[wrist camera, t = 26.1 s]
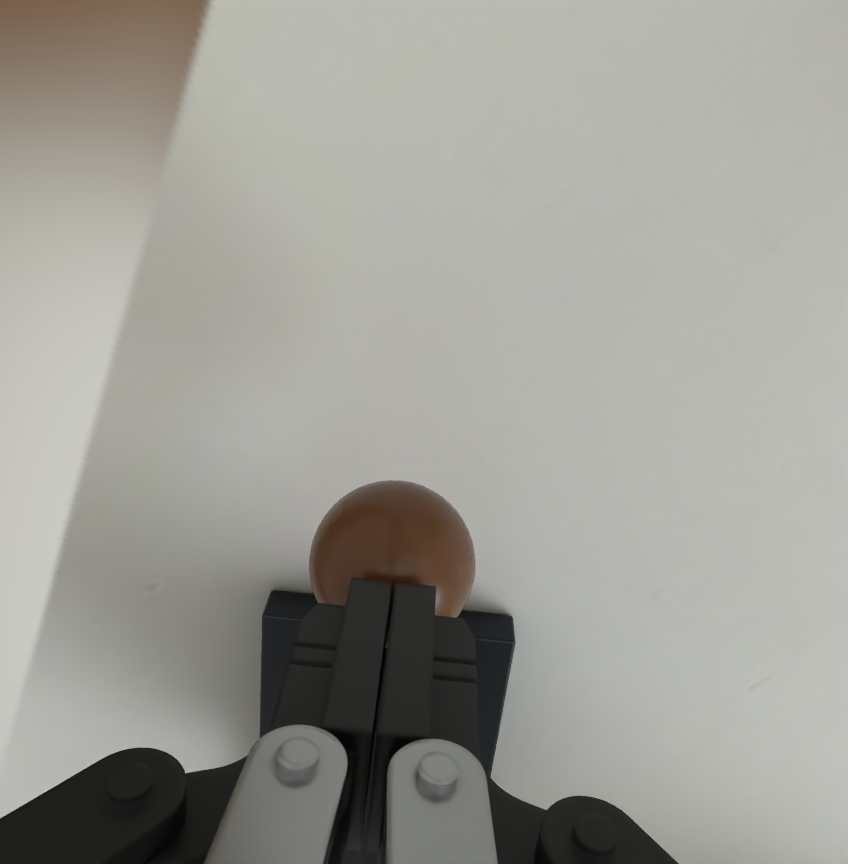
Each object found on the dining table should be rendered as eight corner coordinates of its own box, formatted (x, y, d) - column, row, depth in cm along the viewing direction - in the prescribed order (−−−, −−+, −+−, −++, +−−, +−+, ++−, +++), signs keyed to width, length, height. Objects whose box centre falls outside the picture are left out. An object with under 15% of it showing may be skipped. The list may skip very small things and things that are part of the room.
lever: (328, 473, 17) (309, 470, 14) (476, 488, 17) (491, 490, 14) (249, 1156, 16) (209, 1321, 13) (405, 1172, 16) (403, 1342, 13)
